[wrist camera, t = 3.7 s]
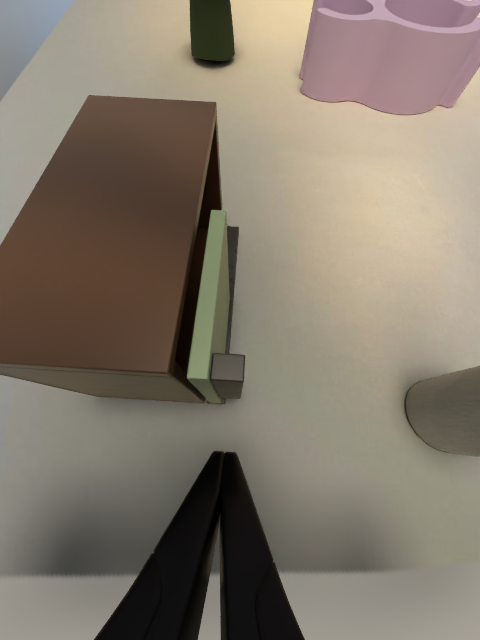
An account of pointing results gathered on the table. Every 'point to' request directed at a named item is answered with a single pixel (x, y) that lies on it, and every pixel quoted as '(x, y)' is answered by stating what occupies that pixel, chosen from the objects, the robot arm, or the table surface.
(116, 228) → the cupboard
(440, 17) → the clip
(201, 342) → the sliding door
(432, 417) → the grey hollow tube
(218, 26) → the character mug
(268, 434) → the table surface
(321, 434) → the table surface
